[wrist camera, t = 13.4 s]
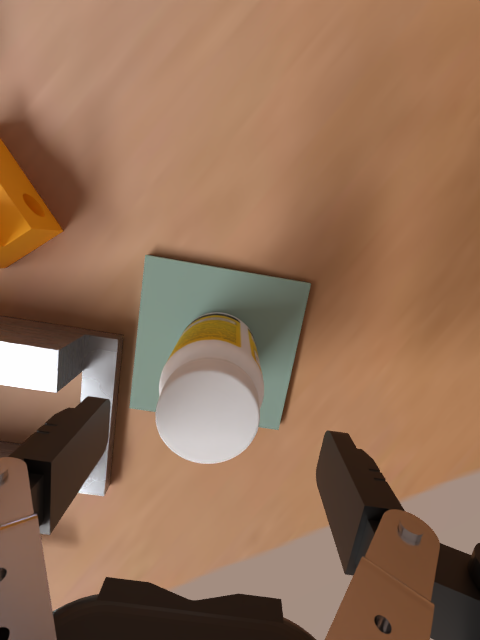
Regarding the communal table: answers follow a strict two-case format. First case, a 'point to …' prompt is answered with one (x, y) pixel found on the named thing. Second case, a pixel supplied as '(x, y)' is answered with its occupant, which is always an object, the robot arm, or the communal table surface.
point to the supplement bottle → (211, 390)
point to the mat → (225, 297)
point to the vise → (63, 372)
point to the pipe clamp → (21, 213)
